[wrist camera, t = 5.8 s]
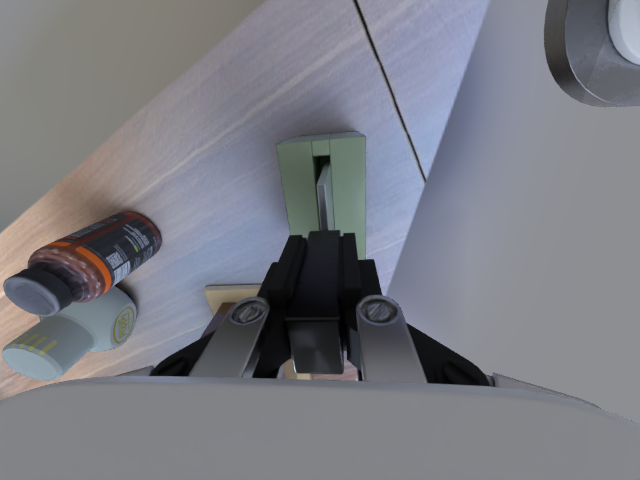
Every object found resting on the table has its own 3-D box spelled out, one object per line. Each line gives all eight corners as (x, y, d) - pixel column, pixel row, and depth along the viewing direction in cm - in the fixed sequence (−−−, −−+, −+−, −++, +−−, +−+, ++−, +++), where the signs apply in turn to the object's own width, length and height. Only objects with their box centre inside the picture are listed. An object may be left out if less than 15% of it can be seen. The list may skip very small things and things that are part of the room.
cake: (296, 283, 30) (284, 331, 23) (312, 380, 39) (306, 434, 32) (207, 285, 31) (170, 332, 24) (242, 379, 40) (223, 431, 33)
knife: (317, 161, 17) (267, 246, 5) (339, 160, 17) (335, 243, 5) (324, 246, 20) (302, 415, 9) (343, 245, 20) (346, 416, 8)
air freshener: (76, 260, 31) (-31, 318, 22) (141, 280, 31) (63, 344, 23) (85, 316, 35) (1, 382, 27) (140, 333, 36) (77, 402, 27)
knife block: (293, 136, 22) (275, 143, 16) (357, 130, 21) (365, 135, 15) (305, 232, 27) (295, 267, 20) (358, 230, 26) (365, 265, 20)
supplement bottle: (104, 230, 28) (-25, 291, 18) (128, 199, 26) (-3, 250, 16) (148, 263, 30) (53, 335, 20) (173, 237, 28) (82, 303, 18)
